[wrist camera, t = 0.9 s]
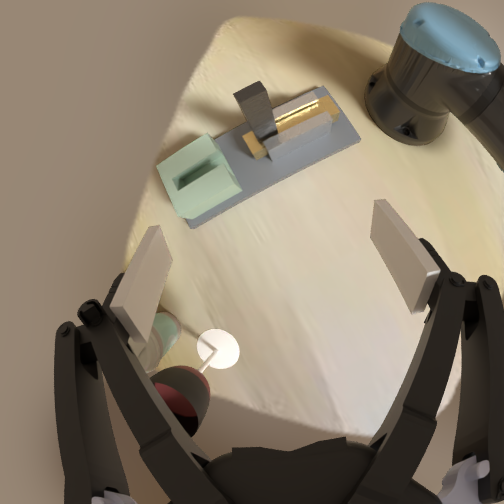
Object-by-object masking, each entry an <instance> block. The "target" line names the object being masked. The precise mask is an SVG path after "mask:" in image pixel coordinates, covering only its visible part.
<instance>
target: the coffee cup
mask: <svg viewBox="0 0 504 504" xmlns="http://www.w3.org/2000/svg"><path fill="white" fill-rule="evenodd" d="M180 335H181V326H180V323H179V321H178V320H177V318H176V317H175V316H174V315H172V314H170V313H168V312H160V313H156V314H155V318H154V321H153V325H152V328H151V332H150V335H149V339H148V343H135V342H134V341H133V340H132V338H131V337H129V340H128V343H129V344H130V346H131V347H132V349H133V351H134V353H135V355H136V356H137V358H138V360H139V362H140V363H141V365H142V367H143V368H144V370H145V372H146V373H148V372H150V371H153V370H154V369H155V368H156V367H157V366H158V364H159V362H160V360H161V358H162V357H163V356H164V355H165V354H166V353H167V351H168V350H169V349H170V348H171V347H172V346H173V345H174V343H175V342H176V341H177V340H178V339H179V337H180Z"/></svg>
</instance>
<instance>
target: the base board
mask: <svg viewBox="0 0 504 504" xmlns="http://www.w3.org/2000/svg"><path fill="white" fill-rule="evenodd" d="M310 92H314V94H315V95H316V96H317V98H318V99H319V98H322V97H324V96H326V95H329V97H330V98H331V99H332V101H333V102H334V104H335V105H336V106H337V108H338V109H339V110H340V114H339V118H338V121H336V122H334V123H332V126H331V130H330V133H329V134H327V135H325V136H323V137H321V138H319V139H317V140H315V141H312V142H310V143H308V144H306V145H304V146H302V147H300V148H298V149H296V150H294V151H292V152H290V153H288V154H286V155H284V156H282V157H280V158H278V159H277V160H275V161H273V162H272V160H271V158H270V156H269V155H266V156H264V157H262V158H260V159H259V160H256V159H255V157H254V156H253V154H252V152H251V150H250V149H249V147H248V145H247V144H246V142H245V140H244V138H243V137H242V136H243V135H245V134H247V133H249V132H251V131H252V130H251V128H250V126H249V124H248V122H245V123H243V124H241V125H240V126H238V127H236V128H234V129H232V130H231V131H229V132H227V133H225V134H223V135H222V136H220V137H218V138H217V139H215V140H214V141H215V142H216V143H217V144H218V145H219V147H220V149H221V151H222V153H223V154H224V156H225V158H226V160H227V162H228V164H229V166H230V167H231V169H232V171H233V173H234V175H235V177H236V179H237V181H238V183H239V184H240V186H241V188H242V190H243V191H241V192H239V193H238V194H236V195H234V196H232V197H231V198H229V199H227V200H225V201H223V202H222V203H220V204H218V205H216V206H215V207H213V208H211V209H210V210H208V211H206V212H204V213H203V214H201V215H199V216H198V217H196V218H194V219H187V218H186V220H187V222H188V225H189V227H190V229H195V228H197V227H198V226H200V225H202V224H204V223H205V222H207V221H209V220H211V219H212V218H214V217H216V216H218V215H219V214H221V213H223V212H225V211H226V210H228V209H230V208H232V207H233V206H235V205H237V204H239V203H241V202H243V201H244V200H246V199H248V198H250V197H252V196H253V195H255V194H257V193H259V192H261V191H263V190H265V189H266V188H268V187H270V186H272V185H274V184H276V183H278V182H280V181H282V180H284V179H285V178H287V177H289V176H291V175H293V174H295V173H297V172H299V171H301V170H303V169H305V168H307V167H309V166H311V165H313V164H315V163H317V162H319V161H321V160H323V159H325V158H327V157H329V156H331V155H333V154H335V153H337V152H340V151H342V150H344V149H346V148H348V147H350V146H352V145H354V144H356V143H359V142H360V140H361V138H360V136H359V135H358V133H357V132H356V130H355V129H354V127H353V126H352V124H351V123H350V121H349V120H348V118H347V117H346V115H345V114H344V113H343V111H342V110H341V108H340V107H339V106H338V104H337V103H336V101H335V100H334V99H333V97H332V96H331V95H330V93H329V92H328V91H327V89H326V88H325V87H324V86H322V87H319V88H317V89H314V90H312V91H310ZM310 92H307V93H305V94H303V95H306V94H308V93H310ZM303 95H300V96H298V97H296V98H294V99H297V98H299V97H301V96H303ZM294 99H292V100H294ZM292 100H289V101H287V102H285V103H283V104H281V105H284V104H286V103H288V102H290V101H292ZM281 105H279V106H281ZM279 106H277V107H279ZM277 107H275V108H277ZM275 108H273V109H275ZM273 109H272V110H273Z"/></svg>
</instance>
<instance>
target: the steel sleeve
mask: <svg viewBox="0 0 504 504" xmlns="http://www.w3.org/2000/svg"><path fill="white" fill-rule="evenodd" d="M317 101H318V98H317V96H316V95H315V94H314V92H310V93H308V94H306V95H303V96H301V97H299V98H297V99H294V100H292V101H290V102H288V103H286V104H284V105H281V106H279V107H277V108H275V109H273V110H272V112H273V115H274V119H275V121H276V120H278V119H280V118H282V117H284V116H287V115H289V114H291V113H293V112H295V111H297V110H299V109H302V108H304V107H306V106H308V105H310V104H313V103H315V102H317ZM332 121H333V119H332V117H331V116H330V114H329V113H328V111H326V112H323V113H321V114H319V115H317V116H314V117H312V118H310V119H308V120H306V121H304V122H301V123H299V124H297V125H295V126H293V127H291V128H289V129H287V130H285V131H283V132H281V133H279V134H277V135H275V136H273V137H271V138H269V139H267V140H265V141H263V144H264V145H265V147H266V149H267V151H268V153H269V154H268V155H269V156H270V158H271V160H272V162H273V161H275V160H277V159H278V158H280V157H282V156H284V155H286V154H288V153H290V152H292V151H294V150H296V149H298V148H300V147H302V146H304V145H306V144H308V143H310V142H312V141H315V140H317V139H319V138H321V137H323V136H325V135H327V134H329V133H330V130H331V126H332Z"/></svg>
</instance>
